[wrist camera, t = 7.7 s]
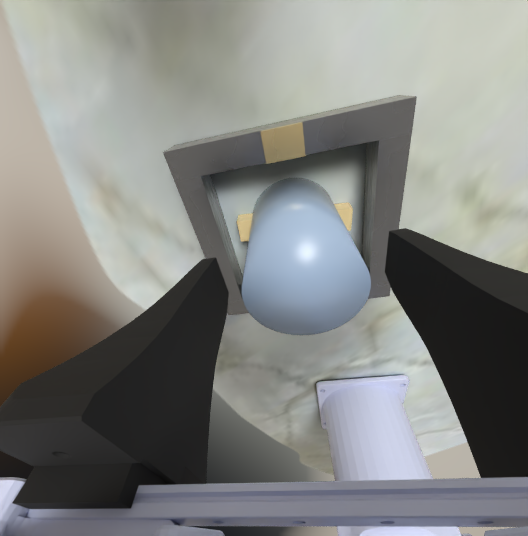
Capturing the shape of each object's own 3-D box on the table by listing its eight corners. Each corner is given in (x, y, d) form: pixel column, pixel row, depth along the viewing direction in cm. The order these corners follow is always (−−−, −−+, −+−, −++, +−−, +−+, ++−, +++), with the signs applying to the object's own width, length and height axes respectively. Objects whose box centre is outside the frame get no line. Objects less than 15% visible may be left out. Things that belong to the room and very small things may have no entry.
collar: (380, 279, 16) (390, 298, 14) (231, 299, 17) (228, 317, 16) (399, 95, 10) (419, 96, 9) (174, 145, 11) (161, 153, 10)
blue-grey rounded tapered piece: (350, 170, 12) (405, 228, 7) (345, 248, 14) (382, 330, 10) (232, 185, 12) (207, 248, 8) (247, 257, 15) (235, 339, 10)
